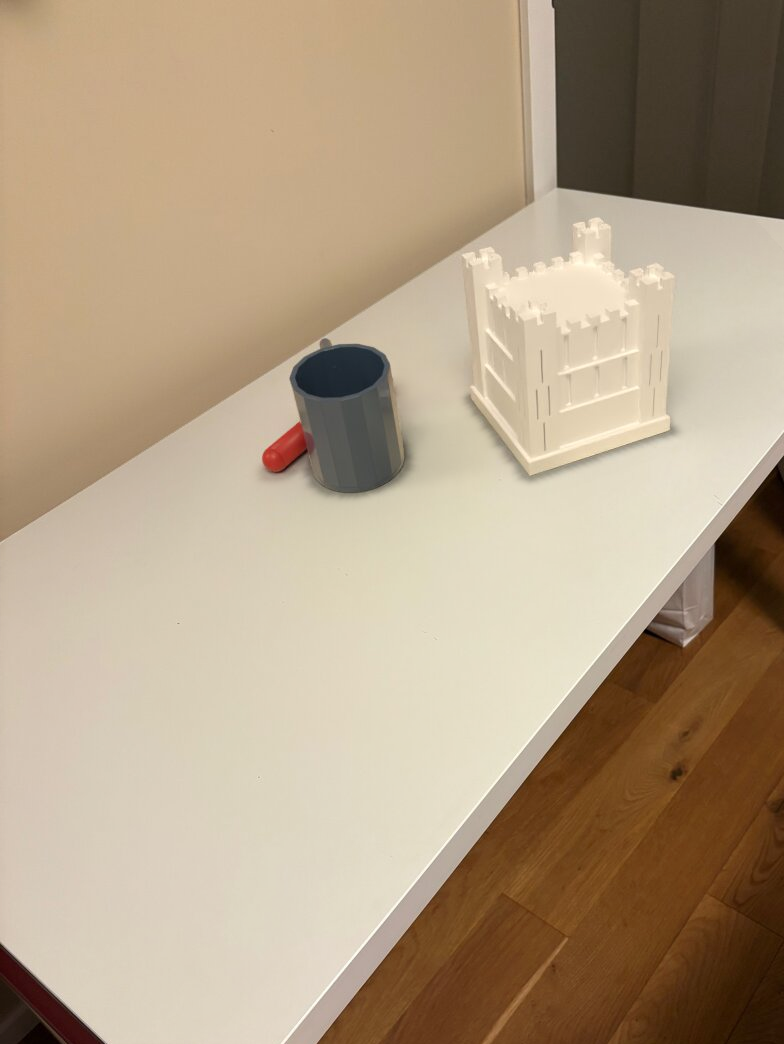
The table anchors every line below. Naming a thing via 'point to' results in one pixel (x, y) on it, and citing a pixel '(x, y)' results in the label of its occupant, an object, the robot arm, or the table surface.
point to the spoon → (285, 449)
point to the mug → (348, 416)
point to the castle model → (569, 350)
